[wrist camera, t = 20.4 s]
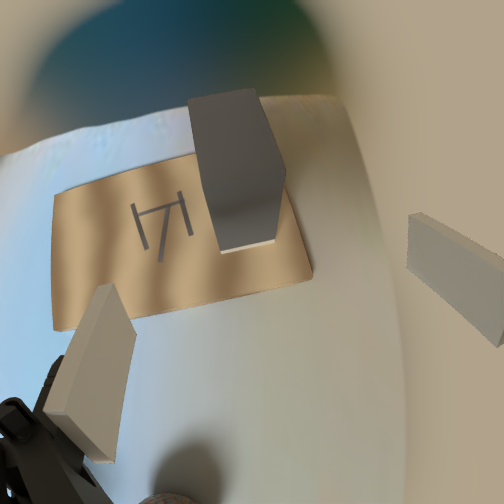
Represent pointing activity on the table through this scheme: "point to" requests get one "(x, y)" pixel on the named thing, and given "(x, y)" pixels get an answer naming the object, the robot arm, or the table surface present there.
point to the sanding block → (238, 168)
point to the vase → (167, 499)
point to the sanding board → (158, 246)
